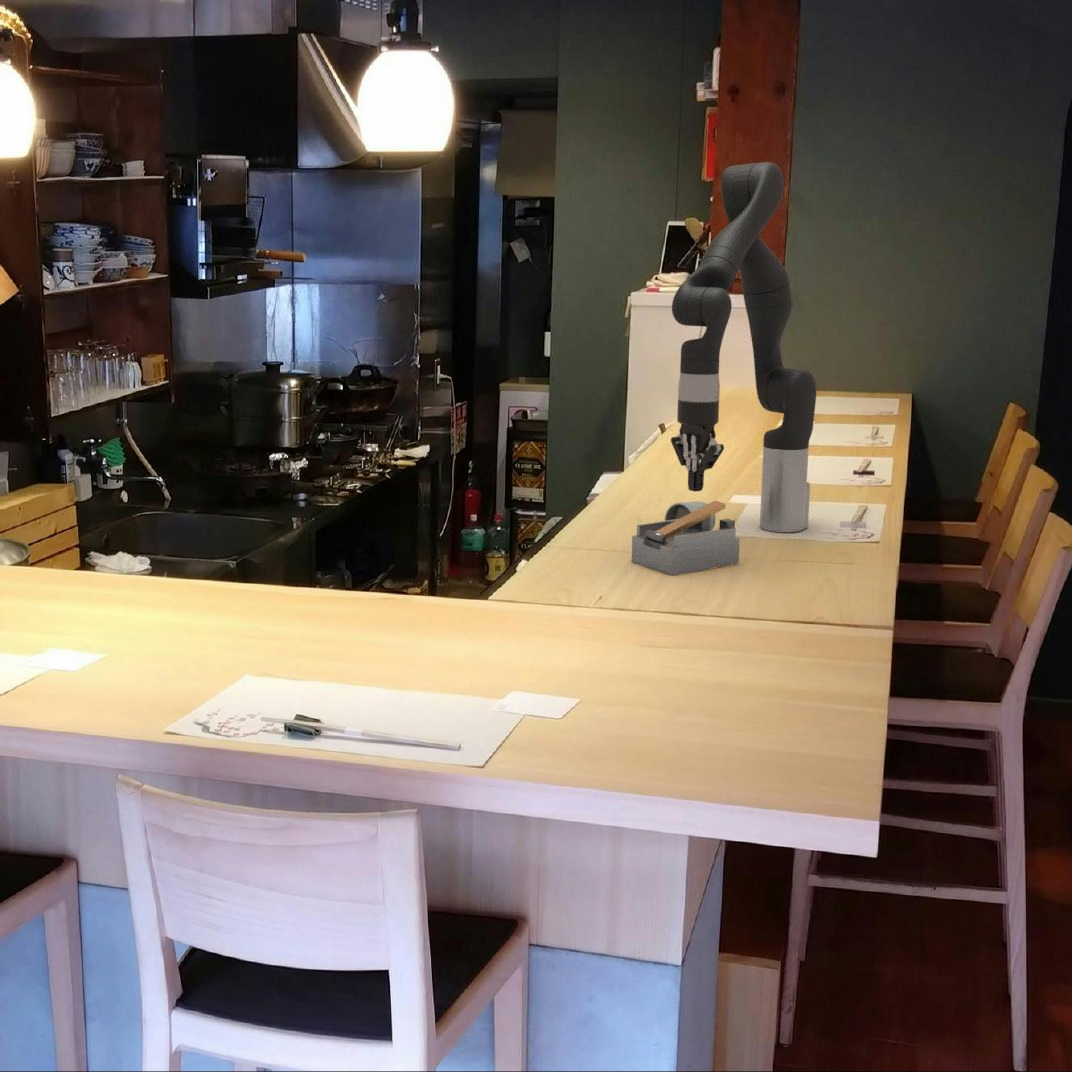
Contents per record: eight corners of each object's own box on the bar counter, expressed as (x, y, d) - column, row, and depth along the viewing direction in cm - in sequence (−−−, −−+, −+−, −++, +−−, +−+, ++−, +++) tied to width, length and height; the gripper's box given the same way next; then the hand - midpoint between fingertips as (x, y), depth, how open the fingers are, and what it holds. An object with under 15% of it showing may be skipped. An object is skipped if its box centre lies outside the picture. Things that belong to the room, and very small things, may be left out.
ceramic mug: (717, 537, 273) (718, 500, 272) (693, 543, 267) (693, 505, 266) (676, 530, 280) (677, 493, 279) (651, 536, 275) (652, 499, 273)
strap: (713, 504, 256) (711, 497, 256) (728, 508, 253) (726, 501, 252) (645, 539, 249) (643, 532, 248) (660, 544, 245) (658, 536, 245)
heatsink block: (697, 550, 262) (698, 510, 260) (738, 563, 252) (740, 522, 250) (631, 561, 253) (632, 520, 251) (671, 575, 243) (673, 532, 241)
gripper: (738, 400, 243) (734, 494, 247) (691, 392, 254) (688, 483, 258) (706, 403, 239) (702, 498, 243) (659, 395, 250) (657, 486, 254)
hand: (695, 490), depth 250 cm, fingers closed
